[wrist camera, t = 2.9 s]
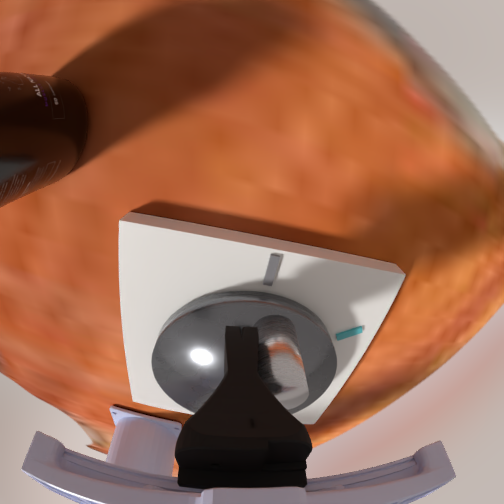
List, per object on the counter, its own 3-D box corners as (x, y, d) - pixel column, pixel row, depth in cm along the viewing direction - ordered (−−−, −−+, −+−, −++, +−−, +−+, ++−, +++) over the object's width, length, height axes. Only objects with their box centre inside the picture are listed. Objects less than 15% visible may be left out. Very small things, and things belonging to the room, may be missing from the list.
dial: (284, 418, 21) (290, 474, 16) (146, 386, 19) (130, 447, 14) (365, 320, 16) (399, 389, 11) (177, 261, 14) (145, 336, 9)
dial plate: (312, 412, 24) (314, 425, 22) (136, 389, 22) (132, 403, 20) (395, 263, 17) (407, 276, 15) (129, 211, 15) (117, 221, 13)
